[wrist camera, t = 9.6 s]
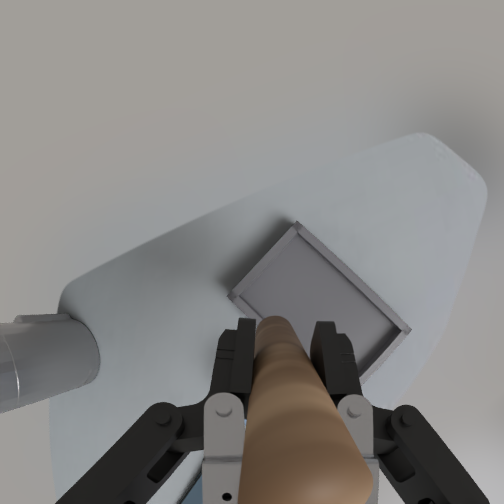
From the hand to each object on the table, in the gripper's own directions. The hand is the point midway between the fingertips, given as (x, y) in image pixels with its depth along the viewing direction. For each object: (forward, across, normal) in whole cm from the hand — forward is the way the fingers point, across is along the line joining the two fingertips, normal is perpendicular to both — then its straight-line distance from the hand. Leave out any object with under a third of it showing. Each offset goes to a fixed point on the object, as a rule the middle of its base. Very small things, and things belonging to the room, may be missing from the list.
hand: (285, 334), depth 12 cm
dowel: (+5, 0, -6) cm, 8 cm away
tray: (+13, +5, -12) cm, 18 cm away
